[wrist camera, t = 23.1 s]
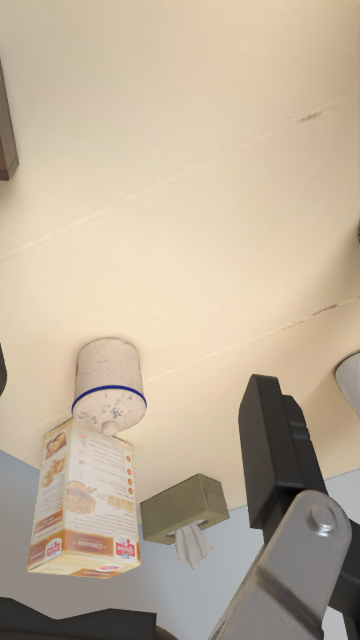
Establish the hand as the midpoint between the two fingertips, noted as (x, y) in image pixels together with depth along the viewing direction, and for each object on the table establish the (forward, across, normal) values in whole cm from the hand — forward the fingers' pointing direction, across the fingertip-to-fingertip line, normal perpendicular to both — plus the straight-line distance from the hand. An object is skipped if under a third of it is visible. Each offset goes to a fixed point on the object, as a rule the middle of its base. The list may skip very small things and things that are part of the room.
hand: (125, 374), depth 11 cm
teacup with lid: (+28, +6, +27) cm, 39 cm away
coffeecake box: (+29, +9, +47) cm, 56 cm away
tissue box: (+36, -11, +75) cm, 84 cm away
